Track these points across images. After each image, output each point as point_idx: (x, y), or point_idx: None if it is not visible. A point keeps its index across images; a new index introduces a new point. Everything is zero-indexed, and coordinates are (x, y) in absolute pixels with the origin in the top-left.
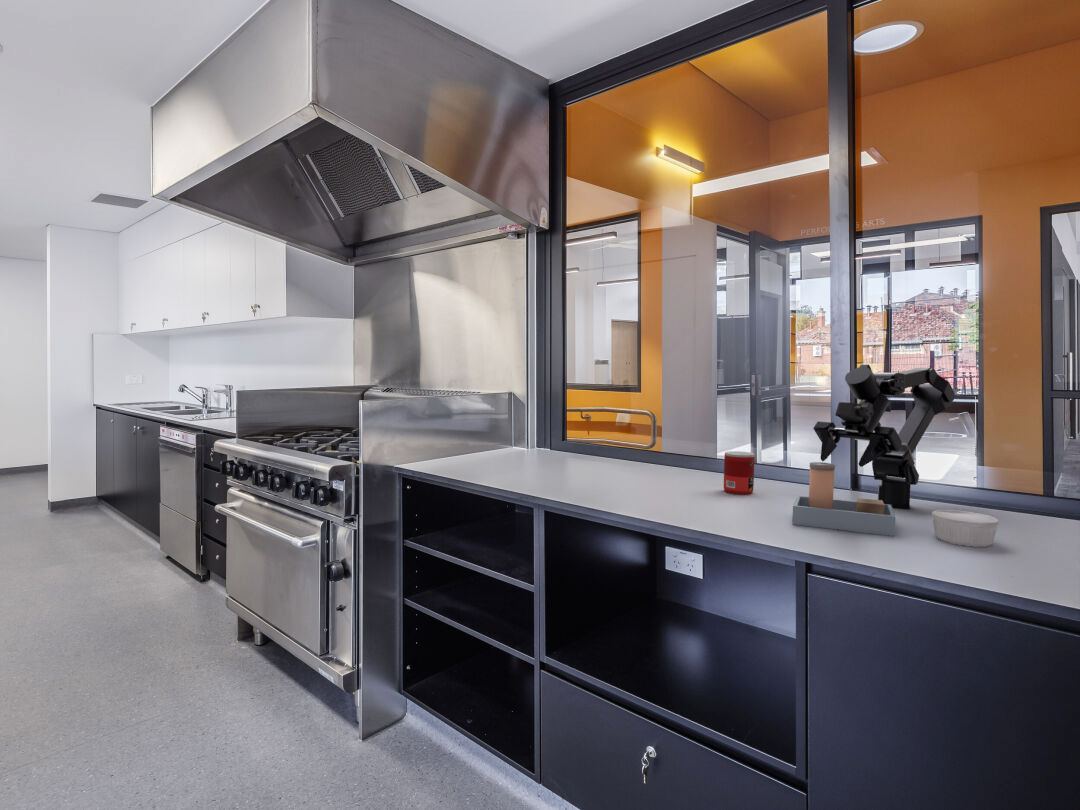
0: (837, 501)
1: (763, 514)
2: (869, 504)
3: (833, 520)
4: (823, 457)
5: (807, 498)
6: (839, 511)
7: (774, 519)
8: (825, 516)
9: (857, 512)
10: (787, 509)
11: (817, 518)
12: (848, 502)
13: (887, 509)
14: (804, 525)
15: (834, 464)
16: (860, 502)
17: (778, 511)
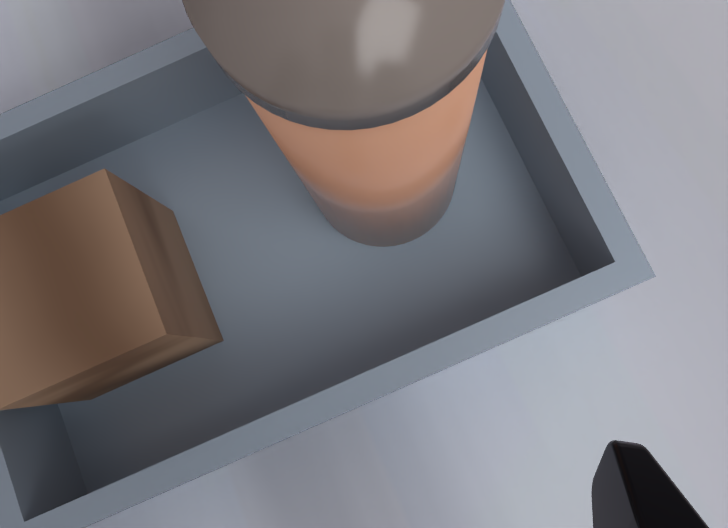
0: (353, 378)
1: (707, 63)
2: (35, 203)
3: None
4: (611, 489)
5: (560, 287)
6: (191, 33)
7: (584, 5)
8: None
9: (91, 79)
10: (703, 334)
11: None
12: (280, 411)
13: (31, 482)
14: None
15: (214, 52)
16: (86, 177)
17: (702, 222)
